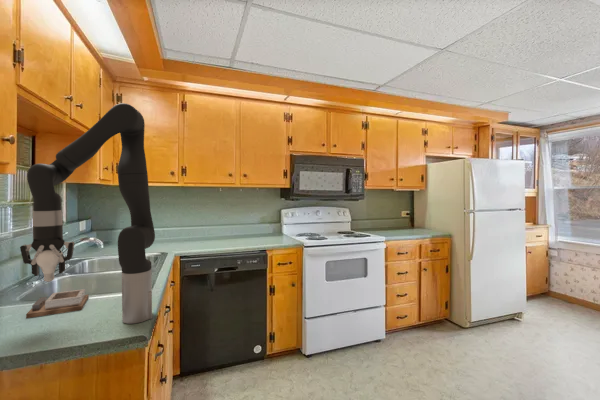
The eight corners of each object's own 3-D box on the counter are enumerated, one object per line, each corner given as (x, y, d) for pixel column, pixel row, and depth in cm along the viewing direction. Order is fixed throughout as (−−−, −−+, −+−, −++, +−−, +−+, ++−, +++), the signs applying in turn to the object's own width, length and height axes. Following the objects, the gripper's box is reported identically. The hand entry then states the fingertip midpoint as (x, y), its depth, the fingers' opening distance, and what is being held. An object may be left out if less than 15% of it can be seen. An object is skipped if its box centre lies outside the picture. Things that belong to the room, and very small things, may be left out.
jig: (88, 297, 123) (88, 287, 122) (81, 309, 110) (81, 298, 110) (39, 304, 115) (39, 293, 115) (26, 318, 103) (25, 305, 103)
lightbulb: (32, 282, 96) (31, 249, 95) (56, 277, 101) (55, 246, 101) (41, 285, 93) (40, 251, 92) (65, 280, 98) (64, 248, 98)
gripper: (14, 226, 90) (15, 280, 90) (72, 224, 97) (73, 274, 97) (23, 224, 96) (24, 274, 97) (77, 222, 103) (78, 268, 104)
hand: (49, 273), depth 97 cm, fingers closed on lightbulb, 5 cm apart
